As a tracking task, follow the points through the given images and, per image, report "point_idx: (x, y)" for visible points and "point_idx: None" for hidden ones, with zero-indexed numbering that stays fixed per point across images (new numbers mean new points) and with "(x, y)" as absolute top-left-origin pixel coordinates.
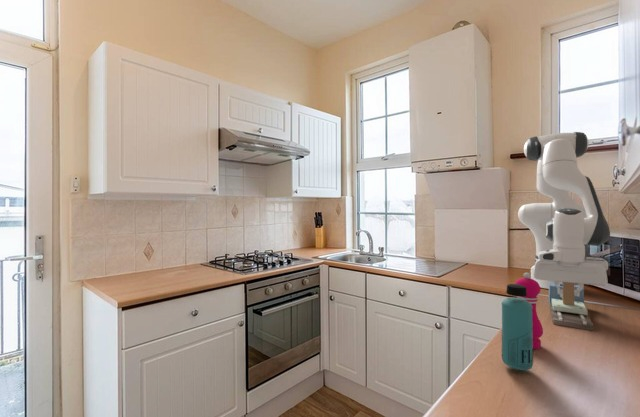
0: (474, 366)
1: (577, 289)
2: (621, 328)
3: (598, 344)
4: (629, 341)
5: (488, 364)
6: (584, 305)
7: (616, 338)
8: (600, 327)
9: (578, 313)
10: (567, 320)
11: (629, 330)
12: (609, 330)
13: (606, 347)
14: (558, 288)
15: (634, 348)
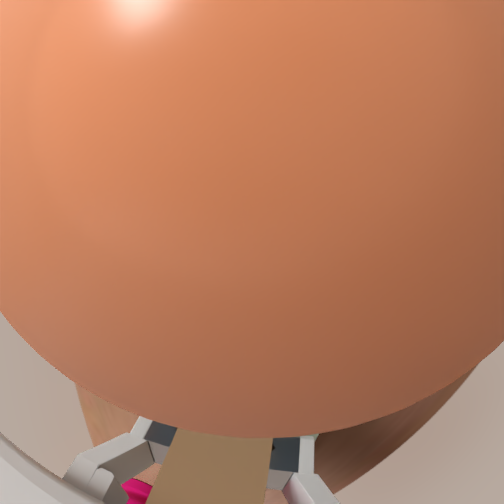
0: None
1: (295, 489)
2: (407, 414)
3: (265, 495)
4: (350, 477)
5: None
6: None
7: (329, 474)
8: (334, 431)
9: None
10: None
11: (419, 419)
12: (349, 442)
13: (275, 499)
14: (138, 463)
15: (333, 494)
